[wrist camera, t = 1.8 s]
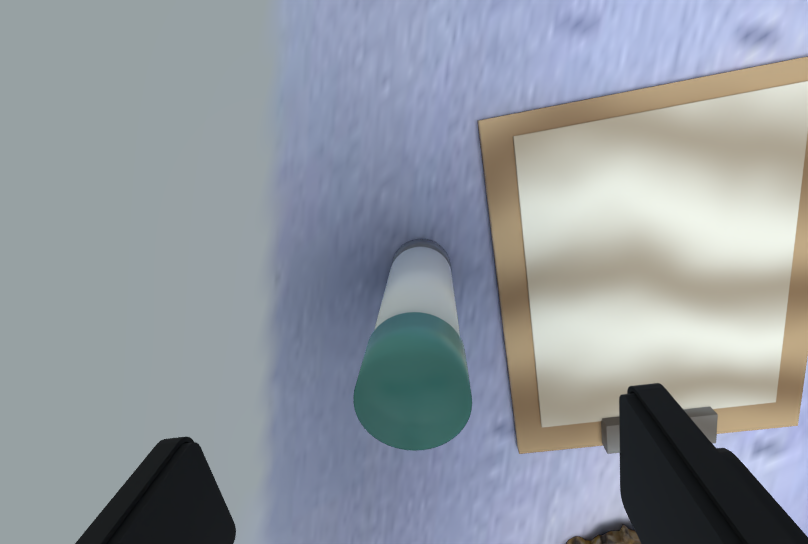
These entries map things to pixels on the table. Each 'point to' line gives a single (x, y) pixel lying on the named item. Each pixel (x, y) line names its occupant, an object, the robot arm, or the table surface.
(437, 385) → the marker
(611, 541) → the decorative rock
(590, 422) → the clipboard
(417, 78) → the table surface
